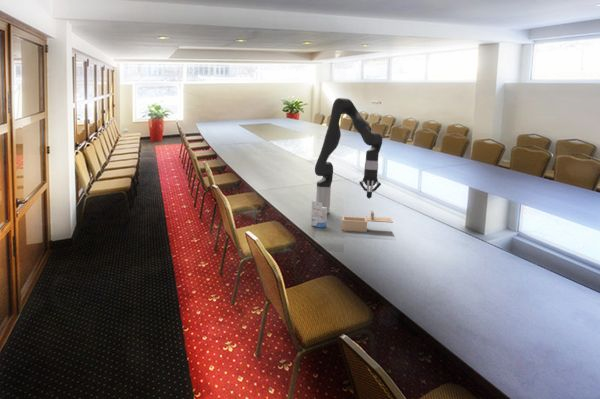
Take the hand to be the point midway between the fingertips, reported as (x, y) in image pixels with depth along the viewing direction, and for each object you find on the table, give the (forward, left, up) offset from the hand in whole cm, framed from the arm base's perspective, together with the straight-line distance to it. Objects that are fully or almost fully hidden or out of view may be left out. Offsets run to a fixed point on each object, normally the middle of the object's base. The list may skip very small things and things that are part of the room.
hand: (368, 198), depth 233 cm
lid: (0, +7, -12) cm, 14 cm away
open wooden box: (0, -7, -19) cm, 20 cm away
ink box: (-2, -28, -19) cm, 34 cm away
